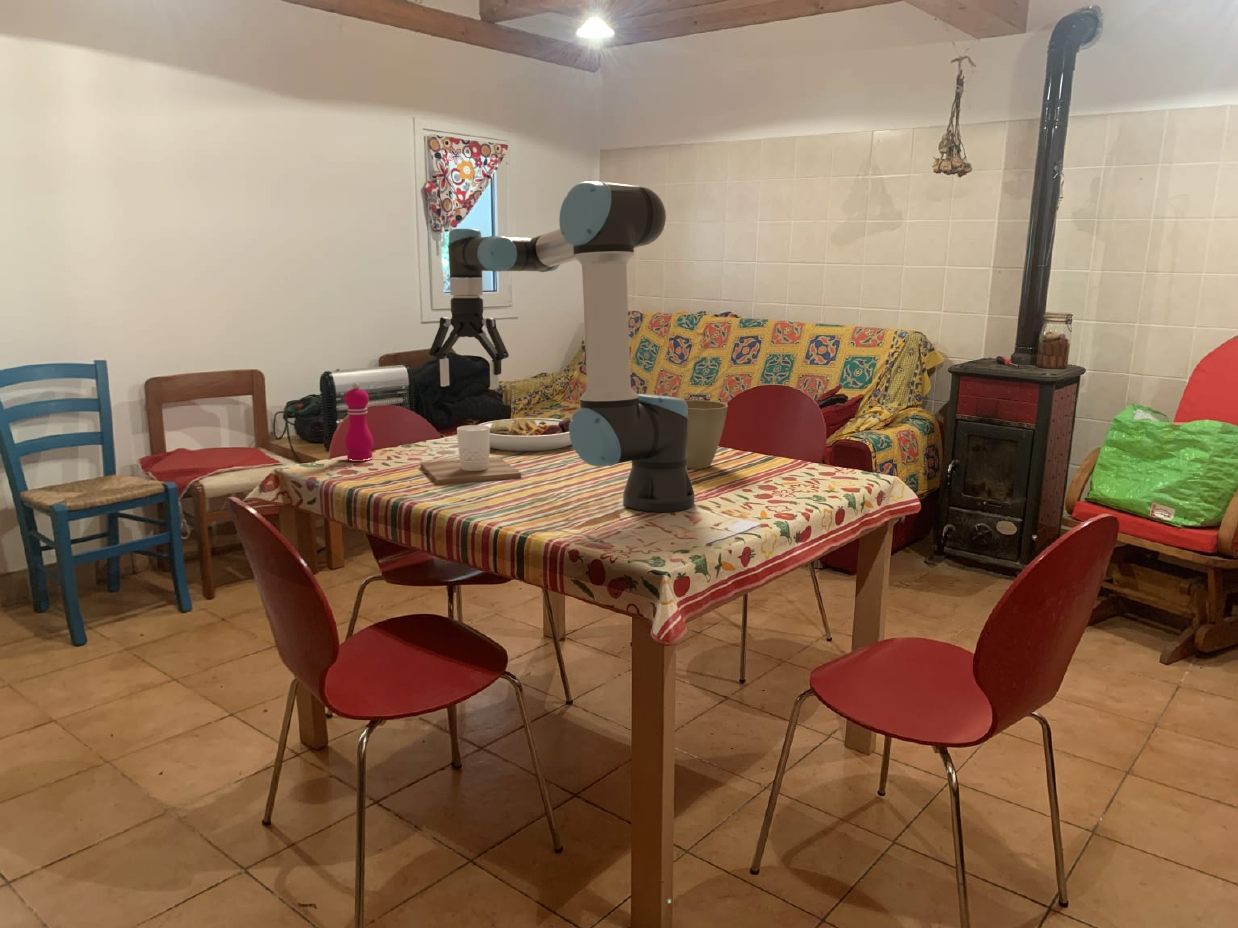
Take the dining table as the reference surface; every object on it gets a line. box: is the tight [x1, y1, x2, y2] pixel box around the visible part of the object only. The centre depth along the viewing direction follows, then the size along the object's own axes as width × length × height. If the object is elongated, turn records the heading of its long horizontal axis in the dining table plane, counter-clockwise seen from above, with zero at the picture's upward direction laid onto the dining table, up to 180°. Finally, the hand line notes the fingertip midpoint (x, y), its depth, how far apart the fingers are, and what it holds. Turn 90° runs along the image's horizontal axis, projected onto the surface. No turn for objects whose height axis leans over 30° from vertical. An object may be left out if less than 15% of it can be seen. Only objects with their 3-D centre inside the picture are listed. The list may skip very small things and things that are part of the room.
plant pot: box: [683, 399, 729, 470], centre depth 224 cm, size 15×15×16 cm
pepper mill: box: [343, 382, 375, 460], centre depth 229 cm, size 7×7×20 cm
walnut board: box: [420, 456, 522, 486], centre depth 217 cm, size 20×20×1 cm
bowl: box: [478, 417, 572, 452], centre depth 255 cm, size 30×30×8 cm
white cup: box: [456, 424, 491, 471], centre depth 215 cm, size 8×8×10 cm
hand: (469, 387), depth 213 cm, fingers open, 13 cm apart
